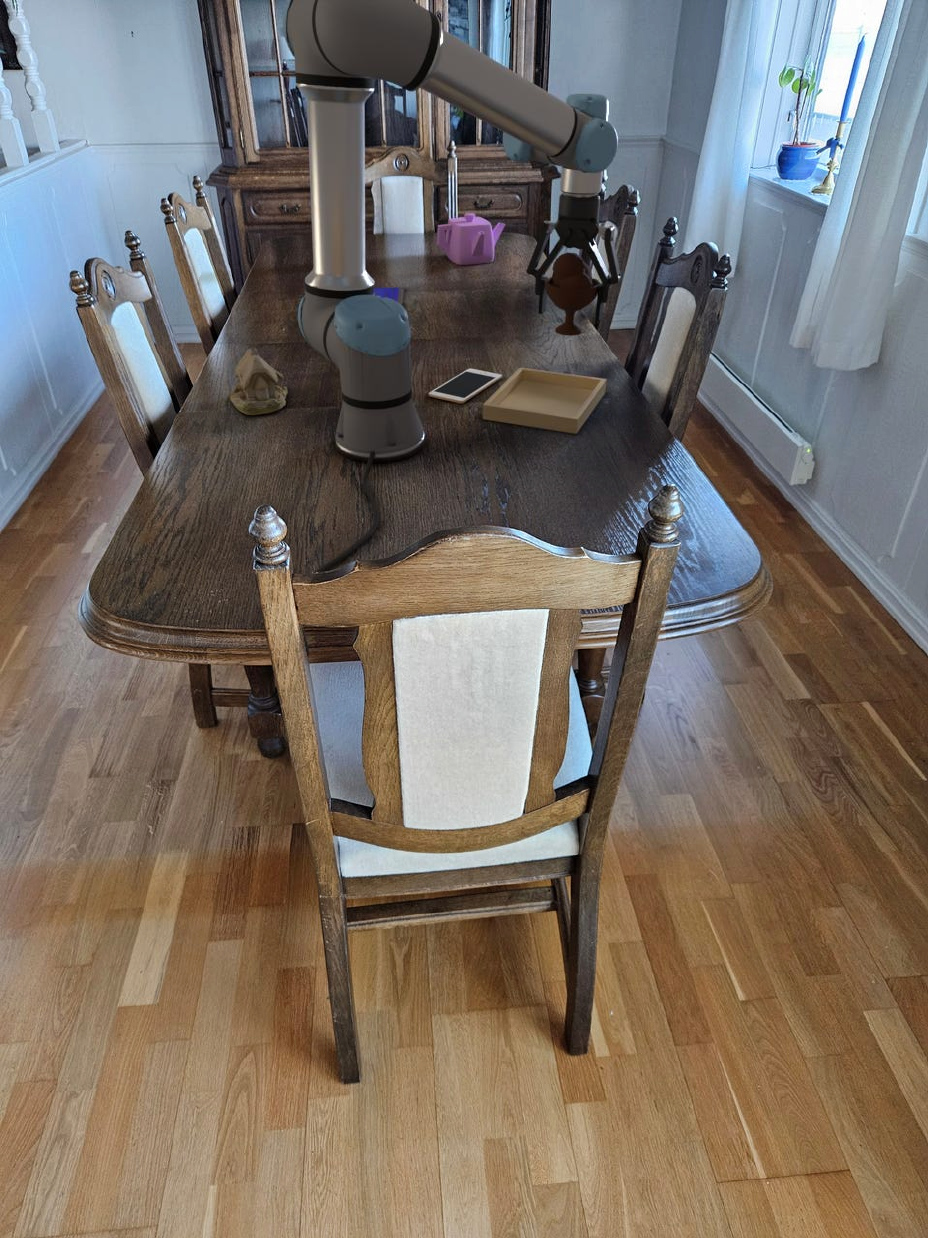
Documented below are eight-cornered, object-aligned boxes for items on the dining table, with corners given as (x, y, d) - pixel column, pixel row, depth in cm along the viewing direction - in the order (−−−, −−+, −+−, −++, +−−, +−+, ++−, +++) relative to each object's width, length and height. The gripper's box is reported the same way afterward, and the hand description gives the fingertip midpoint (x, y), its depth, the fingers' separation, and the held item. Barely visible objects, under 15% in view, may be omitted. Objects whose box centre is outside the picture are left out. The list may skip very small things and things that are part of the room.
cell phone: (502, 377, 168) (502, 374, 167) (462, 404, 157) (462, 400, 156) (469, 370, 171) (469, 367, 171) (427, 396, 160) (427, 393, 160)
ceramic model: (226, 392, 162) (217, 341, 156) (283, 384, 165) (276, 334, 159) (237, 419, 152) (227, 365, 146) (297, 410, 155) (290, 357, 149)
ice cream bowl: (594, 341, 161) (602, 259, 152) (537, 337, 163) (542, 256, 154) (598, 325, 170) (606, 247, 161) (544, 321, 172) (549, 244, 163)
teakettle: (457, 249, 257) (456, 206, 249) (507, 255, 250) (508, 210, 243) (431, 262, 244) (430, 216, 237) (482, 268, 238) (483, 221, 231)
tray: (576, 434, 146) (577, 419, 144) (482, 419, 151) (482, 404, 150) (605, 392, 162) (606, 378, 160) (519, 380, 167) (519, 367, 165)
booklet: (343, 319, 199) (343, 316, 199) (352, 290, 219) (352, 287, 219) (395, 318, 199) (395, 315, 199) (399, 290, 219) (399, 287, 219)
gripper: (647, 194, 151) (632, 317, 164) (526, 185, 158) (520, 303, 171) (638, 201, 145) (623, 328, 158) (513, 191, 152) (508, 313, 165)
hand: (569, 315), depth 165 cm, fingers closed on ice cream bowl, 11 cm apart
